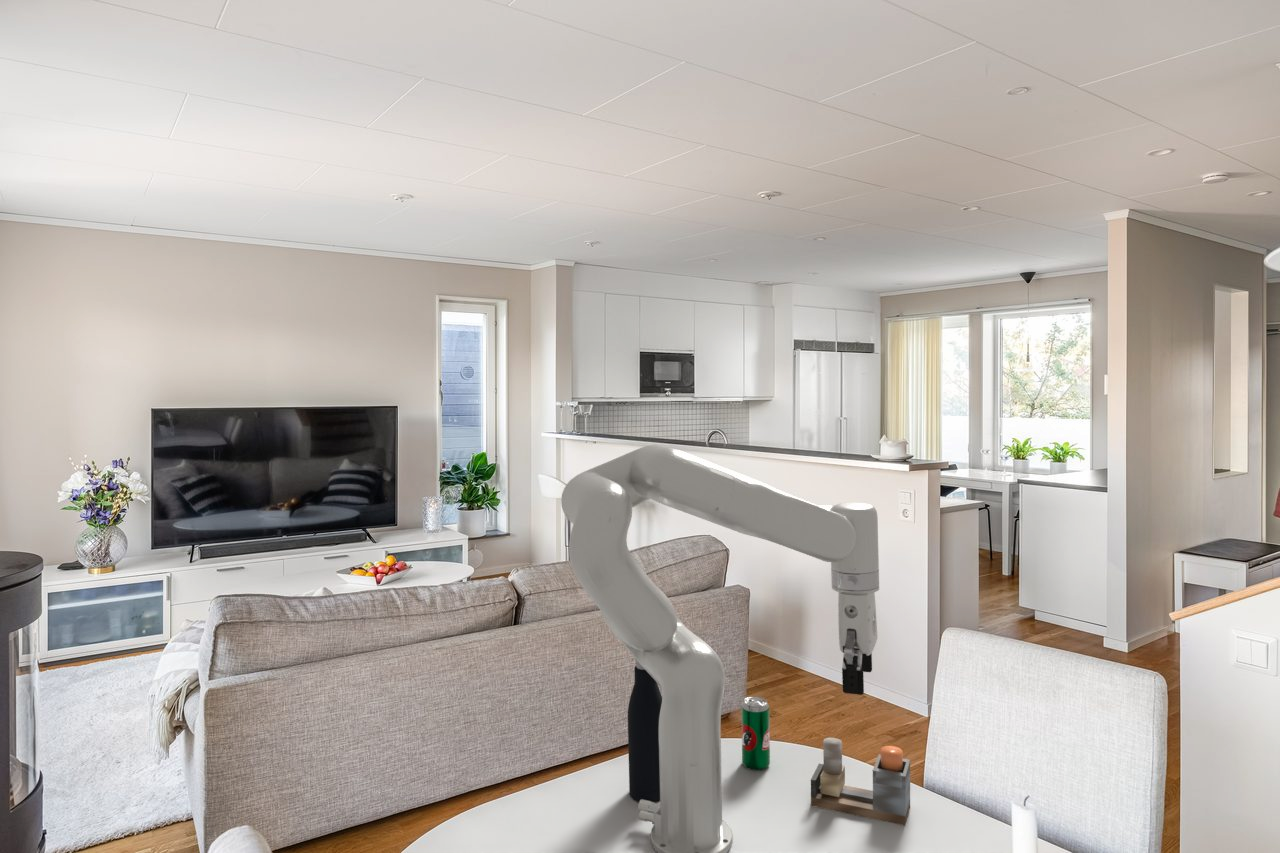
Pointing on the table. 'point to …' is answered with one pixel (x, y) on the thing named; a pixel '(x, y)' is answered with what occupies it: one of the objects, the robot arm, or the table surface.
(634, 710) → the wine bottle
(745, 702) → the soda can
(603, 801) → the table surface
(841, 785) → the carriage
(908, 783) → the stand
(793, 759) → the table surface
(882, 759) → the button
